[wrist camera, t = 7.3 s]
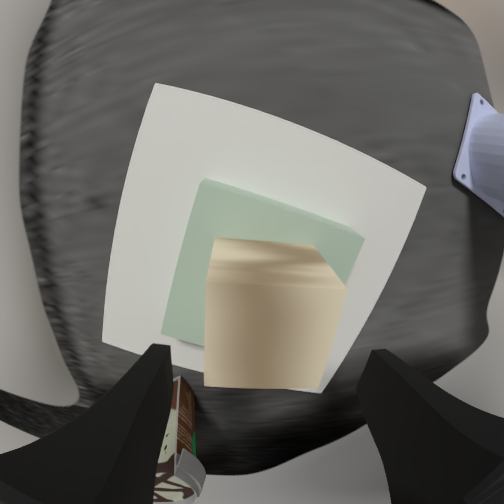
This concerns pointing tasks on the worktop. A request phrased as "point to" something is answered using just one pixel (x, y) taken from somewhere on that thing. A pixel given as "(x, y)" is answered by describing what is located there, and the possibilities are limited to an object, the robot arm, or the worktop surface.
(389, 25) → the worktop surface
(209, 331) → the maple cube
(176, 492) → the food container
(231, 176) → the base board
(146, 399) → the robot arm
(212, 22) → the worktop surface
